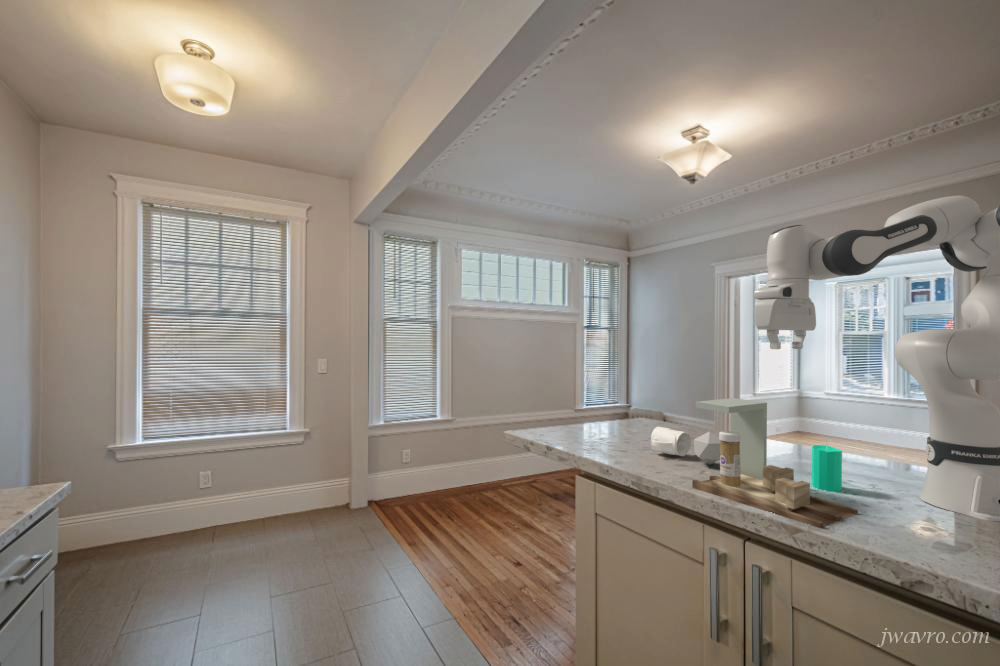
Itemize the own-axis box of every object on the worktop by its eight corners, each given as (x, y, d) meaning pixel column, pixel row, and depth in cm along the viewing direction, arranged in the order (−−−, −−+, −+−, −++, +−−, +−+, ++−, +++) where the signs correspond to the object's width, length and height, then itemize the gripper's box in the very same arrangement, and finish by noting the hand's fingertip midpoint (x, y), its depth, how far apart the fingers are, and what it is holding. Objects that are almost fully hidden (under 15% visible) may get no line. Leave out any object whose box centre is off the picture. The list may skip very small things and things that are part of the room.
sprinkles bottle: (716, 487, 109) (714, 431, 109) (728, 484, 111) (727, 430, 111) (733, 492, 105) (731, 434, 105) (745, 489, 107) (744, 432, 107)
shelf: (766, 488, 113) (766, 402, 113) (728, 498, 105) (728, 406, 105) (732, 477, 121) (733, 398, 121) (695, 486, 113) (695, 401, 113)
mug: (664, 448, 152) (665, 424, 152) (691, 454, 145) (691, 429, 145) (644, 454, 144) (645, 429, 144) (671, 460, 137) (672, 434, 137)
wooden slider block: (793, 493, 105) (793, 469, 105) (778, 497, 102) (778, 472, 102) (734, 475, 118) (735, 454, 118) (720, 479, 115) (720, 457, 115)
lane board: (857, 518, 95) (857, 509, 95) (819, 532, 87) (819, 523, 87) (730, 478, 120) (730, 471, 120) (692, 487, 113) (692, 480, 113)
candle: (811, 484, 116) (812, 438, 116) (840, 489, 112) (841, 441, 112) (811, 491, 111) (812, 442, 111) (842, 496, 107) (842, 446, 107)
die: (730, 470, 127) (730, 435, 127) (696, 468, 129) (696, 433, 129) (721, 462, 136) (721, 429, 136) (690, 460, 137) (690, 427, 138)
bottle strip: (809, 509, 95) (809, 482, 95) (793, 514, 92) (794, 487, 92) (724, 482, 113) (725, 459, 113) (709, 486, 110) (709, 462, 110)
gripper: (797, 295, 117) (796, 348, 117) (749, 291, 108) (749, 348, 108) (823, 293, 112) (823, 349, 112) (776, 289, 102) (775, 349, 102)
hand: (786, 349), depth 110 cm, fingers open, 8 cm apart
